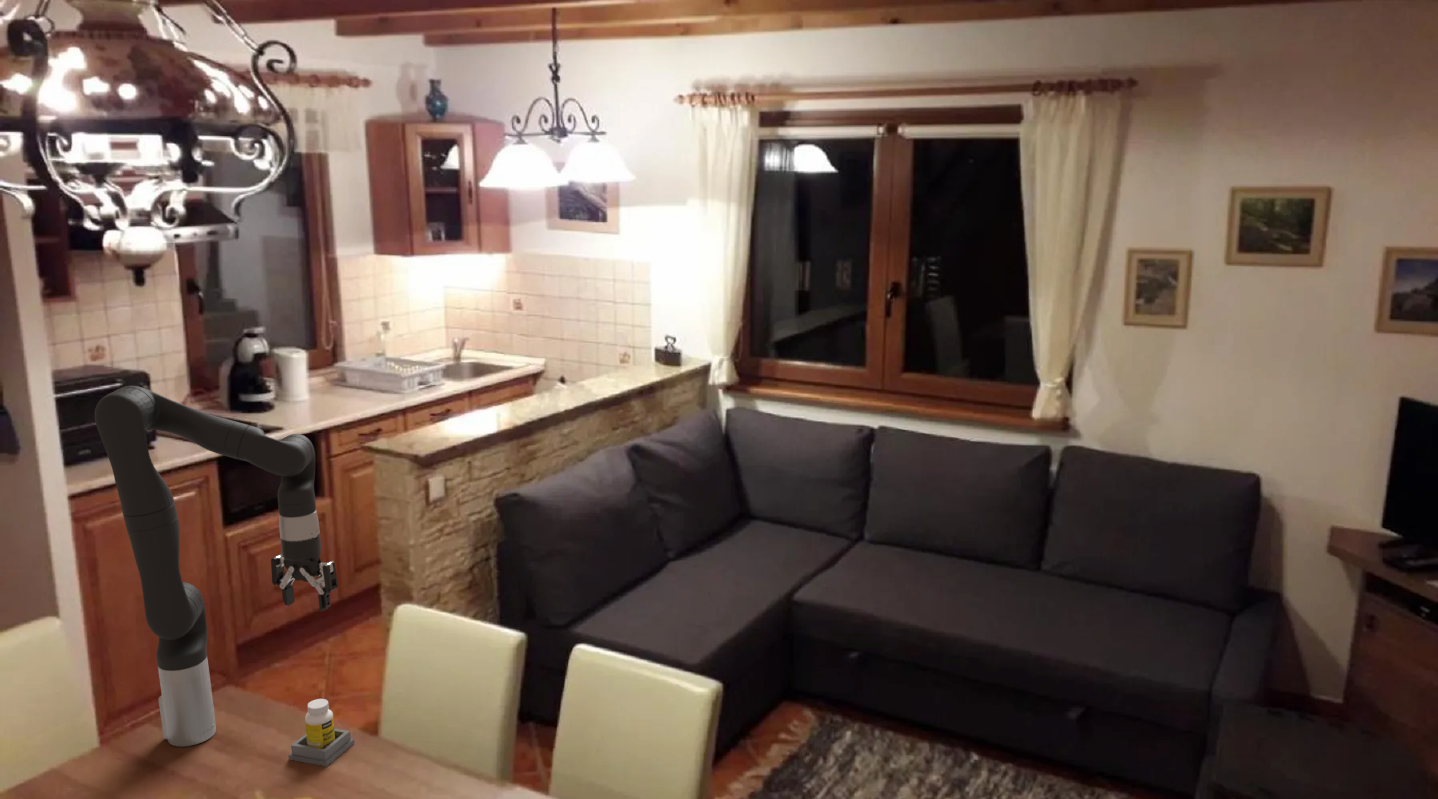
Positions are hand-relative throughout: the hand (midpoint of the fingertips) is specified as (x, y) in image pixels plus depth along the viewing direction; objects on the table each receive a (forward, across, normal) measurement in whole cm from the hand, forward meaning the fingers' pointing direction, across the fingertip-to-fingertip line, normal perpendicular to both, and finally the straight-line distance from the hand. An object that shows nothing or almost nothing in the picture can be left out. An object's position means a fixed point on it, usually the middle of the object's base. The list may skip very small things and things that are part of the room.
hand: (307, 606), depth 221 cm
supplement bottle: (+27, +6, -7) cm, 29 cm away
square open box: (+28, +6, -7) cm, 30 cm away
